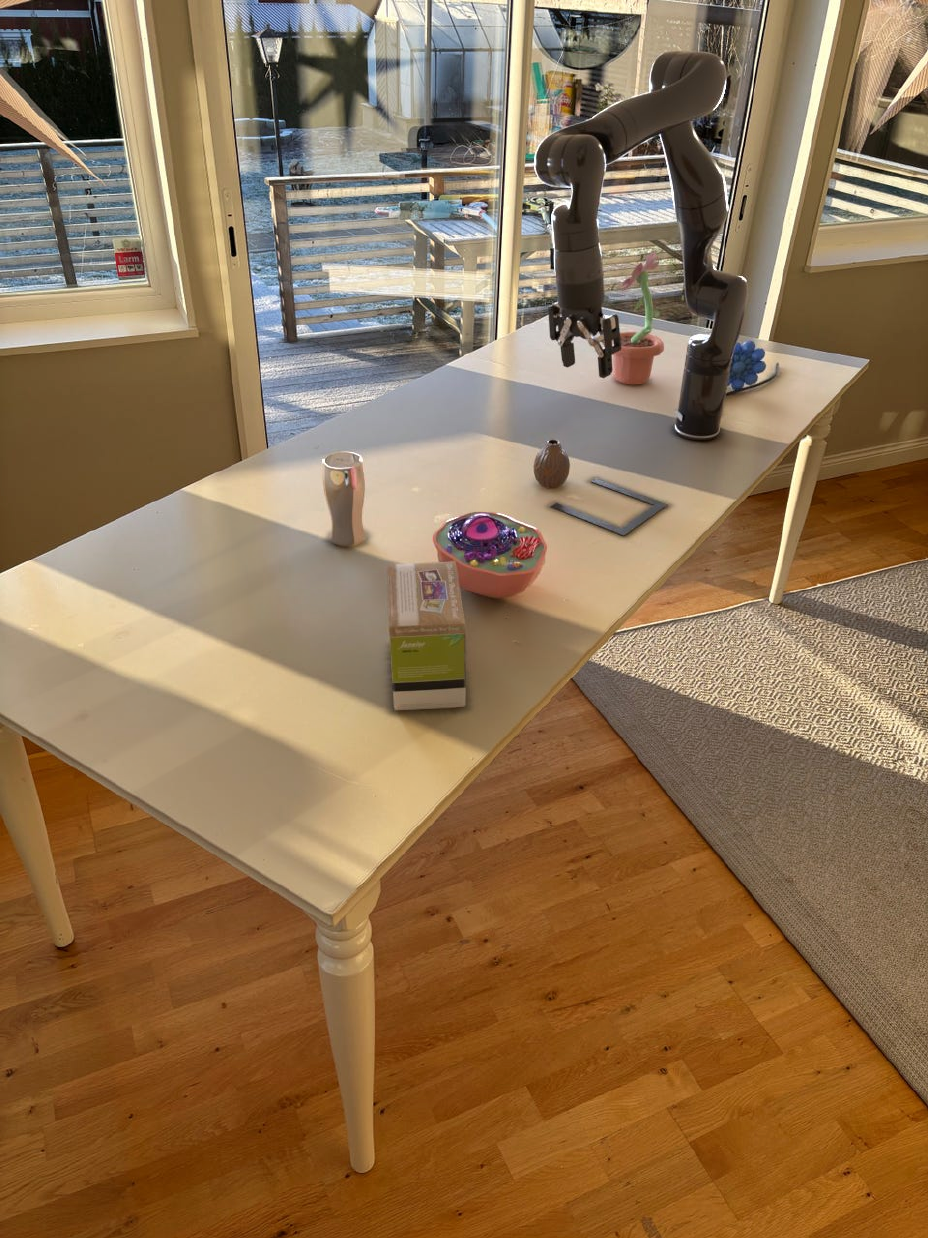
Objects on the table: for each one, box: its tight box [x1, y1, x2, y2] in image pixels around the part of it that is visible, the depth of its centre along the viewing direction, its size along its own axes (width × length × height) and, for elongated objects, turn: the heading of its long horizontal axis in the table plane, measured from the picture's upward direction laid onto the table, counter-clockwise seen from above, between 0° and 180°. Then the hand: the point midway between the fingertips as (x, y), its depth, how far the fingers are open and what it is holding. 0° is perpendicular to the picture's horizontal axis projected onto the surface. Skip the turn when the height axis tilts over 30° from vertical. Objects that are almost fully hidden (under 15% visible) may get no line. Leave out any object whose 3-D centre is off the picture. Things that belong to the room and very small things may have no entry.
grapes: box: [727, 340, 767, 391], centre depth 216 cm, size 12×7×12 cm, turn 65°
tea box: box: [387, 561, 466, 711], centre depth 127 cm, size 15×10×15 cm, turn 5°
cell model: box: [432, 511, 548, 600], centre depth 147 cm, size 17×20×11 cm
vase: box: [533, 438, 571, 489], centre depth 177 cm, size 7×7×9 cm
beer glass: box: [322, 451, 366, 548], centre depth 158 cm, size 7×7×15 cm
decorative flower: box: [612, 249, 665, 385], centre depth 215 cm, size 15×14×30 cm
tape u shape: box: [550, 477, 669, 537], centre depth 172 cm, size 15×16×1 cm
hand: (587, 370), depth 156 cm, fingers open, 8 cm apart
